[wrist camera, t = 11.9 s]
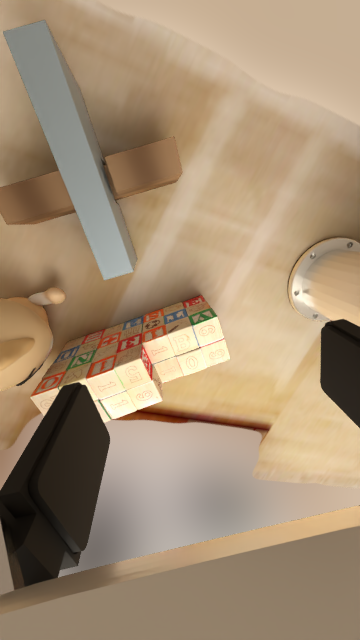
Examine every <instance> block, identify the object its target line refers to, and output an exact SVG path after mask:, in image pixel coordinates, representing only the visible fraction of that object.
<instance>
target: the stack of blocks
mask: <svg viewBox="0 0 360 640" xmlns="http://www.w3.org/2000/svg"><path fill="white" fill-rule="evenodd" d="M229 359H230V356H229V352H228V349H227V346H226V342H225V339H224V337H223V333H222V330H221V326H220V323H219V319H218V317H217V315H216V314H215V312H214V311H213V310H212V308H210V306H209V305H208V303H207V302H206V301H205V299H204V298H203V296H202V295H201V296H198V297H195V298H193V299H190V300H187V301H184V302H180V303H177V304H174V305H171V306H169V307H166V308H164V309H160V310H157V311H154V312H151V313H148V314H145V315H144V316H141V317H139V318H136V319H133V320H130V321H127V322H125V323H122V324H119V325H116V326H113V327H111V328H108V329H104V330H101V331H98V332H95V333H92V334H89V335H86V336H83V337H80V338H77V339H74V340H71V341H69V342H67V343H66V345H65V347H64V348H63V349H62V351H61V353H60V354H59V356H58V357H57V359H56V360H55V361H54V363H53V364H52V365H51V366H50V368H49V369H48V371H47V372H46V373H45V375H44V376H43V378H42V381H41V382H40V383H39V385H38V386H37V388H36V389H35V391H34V392H33V393H32V395H31V397H30V398H31V399H32V401H33V402H34V403H35V405H36V406H37V407H38V408H39V410H40V411H41V412H42V414H43V415H44V416H45V415H46V413H47V411H48V410H49V408H50V406H51V405H52V403H53V401H54V399H55V398H56V396H57V394H58V393H59V391H60V389H61V388H62V387H63V386H64V385H68V384H72V383H76V382H80V383H81V384H82V385H86V386H87V388H88V390H89V392H90V394H91V397H92V399H93V401H94V403H95V405H96V407H97V409H98V411H99V413H100V416H101V418H102V420H103V422H104V423H105V422H107V421H110V420H111V419H116V418H119V417H121V416H124V415H126V414H129V413H132V412H135V411H136V410H137V409H142V408H144V407H147V406H150V405H152V404H155V403H158V402H160V401H162V400H163V398H162V383H165V382H168V381H170V380H173V379H176V378H179V377H181V376H186V375H189V374H192V373H194V372H197V371H200V370H203V369H206V368H207V367H209V366H212V365H215V364H218V363H221V362H223V361H226V360H229Z"/></svg>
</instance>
